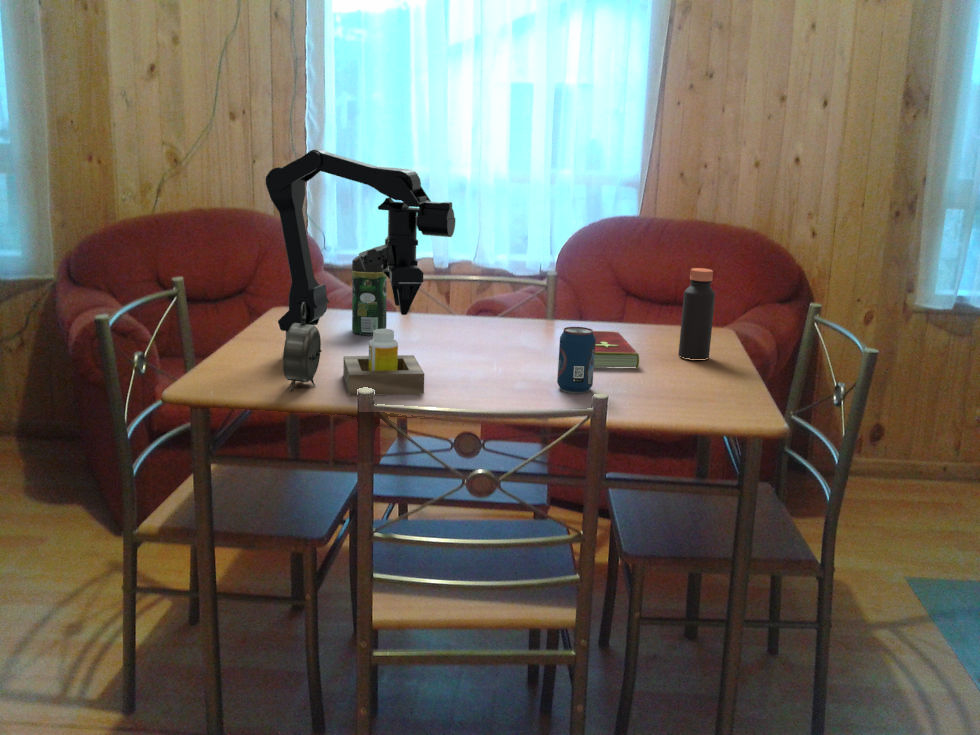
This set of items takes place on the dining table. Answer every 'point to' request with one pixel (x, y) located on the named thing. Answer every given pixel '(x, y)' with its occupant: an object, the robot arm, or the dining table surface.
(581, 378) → the soda can
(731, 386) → the dining table surface
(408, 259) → the robot arm
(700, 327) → the vinegar
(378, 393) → the well block
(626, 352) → the hardcover book
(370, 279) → the coffee jar
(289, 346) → the alarm clock
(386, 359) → the supplement bottle
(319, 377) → the dining table surface
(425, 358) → the dining table surface
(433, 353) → the dining table surface
